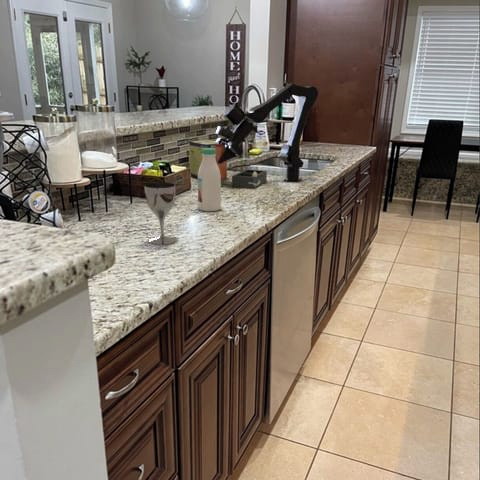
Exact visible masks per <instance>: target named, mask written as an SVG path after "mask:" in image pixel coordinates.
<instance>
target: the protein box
mask: <svg viewBox="0 0 480 480" xmlns="http://www.w3.org/2000/svg"><path fill="white" fill-rule="evenodd" d="M212 145H217V142H216V140H209V139H206V140H190V141H188V146H189V147H188V148H189V152H188V153H189V171H190V170H191V176H190V177H192V178H196V179H198V171H199V168H200V166H201V163H202V159H203V156H202V149H203V148H211V146H212ZM222 180H223V179H221V181H222ZM225 180H228V177H227V178H226V179H225Z"/></svg>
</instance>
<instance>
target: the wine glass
mask: <svg viewBox="0 0 480 480" xmlns="http://www.w3.org/2000/svg"><path fill="white" fill-rule="evenodd" d="M144 197H145V200H146V204H147V207H148V208H149V210H150V211H151V212H152V213H153V214H154V215H155V216H156V217H157V219H158V223H159V227H160V236H156V237H152V238H150V239H149V243H151V244H154V245H169V244H174V243H175V242H177V239H176V238H175V237H171V236H165V232H164V228H165V226H164V225H165V219H166V217H167V215H168V214H169V213H170V212H171V211H172V210H173V207H174V205H175V201H176V184H175V183H171V182H149V183H146V184H145V185H144Z"/></svg>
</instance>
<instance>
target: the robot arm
mask: <svg viewBox="0 0 480 480" xmlns="http://www.w3.org/2000/svg"><path fill="white" fill-rule="evenodd" d="M292 96H295V97H298V98H297V102H298V108H297V112H296V115H295V119H294V122H293V125H292V128H291V132H290V135H289V139H288V141H287V142H286V143H282V145H281V150H280V151H279V153H280V159H281V160H282V162H283V165H284V166H286V174H285V178H284V179H283V181H284V182H293V183H296V182H297V183H298V182H300V181H301V180H302V178H300V169H301V168H303V166H304V164H305V163H304V161H303V160H302V158H301V157H300V152H301V150H300V149H301V147H300V143H301V139H302V136H303V134H304V130H305V126H306V123H307V120H308V116H309V114H310V110H311V109H312V108H313V107H314V105H315V104H316V102H317V100H318V97H319V90H318V88H317V87H315V86H310V85H309V86H308V85H306V86H303V85H298V84H294V83H287V84H286V85H285V87H283V88H282V89H280V90H279V91H278V92H276V93H275V94H274V95H272V96H271V97H270V98H269V99H267V100H266V101H264V102H263V103H259V104H257V105H255V106H253V107H251V108H249V110H247V111H244V110H243V109H242V108H241V106H240V105H239V104H238V103H237V102H233V104H231V105H230V106H229V107H227V108H226V109H225V111H224V112H223V115H224V117H225V118H226V119H227V120H228V122H229V123H231V124H232V126H236V127H235V129H231V127H229V126H225V127H222V126H219V125H218V126H217V129H216V131H215V135H218V136H221V137H218V138H217V139H216V140H215V141H216V142H217V145H225V151H224V153H223V154H222V156H221V157H220V159H219V161H218V163H219V164H221V163H223V162H225V161H227V162H228V161H229V160H232V159H234V158H237V157H241V156H242V155H243V154H244V149H243V148H242V147H241V145H242V143H246V139H247V138H248V136H249V135H250V134H251V133H252V132H253V133H254V134H258V132H259V131H258V125H254V124H253V123H255V124H262V123H263V122H265V120H266V119H267V118H268V117H269V115H270V113H271V112H272V111H273V110H275V109H276V108H277V107H279V106H280V105H281V104H283V103H284V102H285V101H287V100H288V99H289V98H291V97H292ZM247 119H248V120H247Z"/></svg>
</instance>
